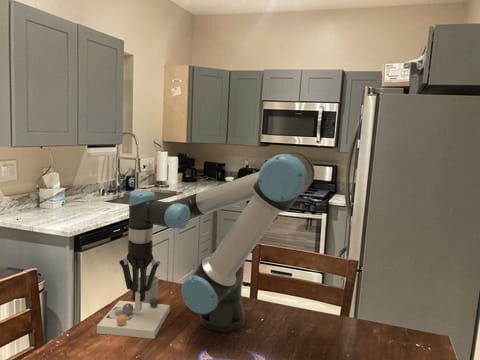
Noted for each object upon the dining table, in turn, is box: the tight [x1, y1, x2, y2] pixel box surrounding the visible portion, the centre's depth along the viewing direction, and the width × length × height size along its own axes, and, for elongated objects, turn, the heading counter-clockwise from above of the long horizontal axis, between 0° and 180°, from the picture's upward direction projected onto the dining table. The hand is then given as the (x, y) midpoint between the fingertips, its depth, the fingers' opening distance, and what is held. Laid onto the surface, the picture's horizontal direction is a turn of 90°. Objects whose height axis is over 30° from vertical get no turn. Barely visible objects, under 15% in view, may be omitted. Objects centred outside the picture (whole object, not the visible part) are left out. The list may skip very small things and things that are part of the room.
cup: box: [130, 274, 159, 303], centre depth 147 cm, size 7×10×9 cm
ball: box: [122, 303, 134, 315], centre depth 132 cm, size 4×4×4 cm
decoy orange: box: [117, 315, 127, 325], centre depth 125 cm, size 3×3×3 cm
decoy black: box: [149, 298, 159, 307], centre depth 138 cm, size 3×3×3 cm
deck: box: [96, 300, 171, 340], centre depth 132 cm, size 18×18×2 cm
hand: (138, 309), depth 132 cm, fingers closed
